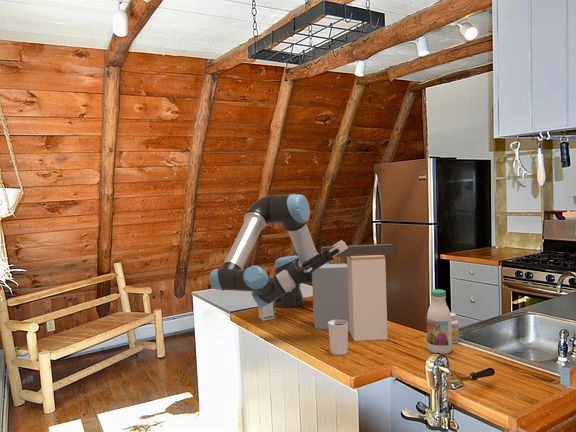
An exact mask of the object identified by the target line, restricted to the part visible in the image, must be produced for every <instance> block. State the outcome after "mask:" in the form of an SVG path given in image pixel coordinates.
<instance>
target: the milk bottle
mask: <svg viewBox="0 0 576 432" xmlns="http://www.w3.org/2000/svg"><path fill="white" fill-rule="evenodd" d="M430 294H431V302H430V305H429V307H428V309H427V314H426V334H427V335H426V340H427V341H426V342H427V350H428V352H430V353H433V354H437V353H440V355H445V354H447V355H448V354H450V353H452V350H453V343H452V323H451V314H450V313H451V311H450V309H449V307H448V304H447V301H446V297H447V291H446V290H444V289H439V288H437V289H432V290H431V291H430Z"/></svg>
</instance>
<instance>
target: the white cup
mask: <svg viewBox="0 0 576 432" xmlns="http://www.w3.org/2000/svg"><path fill="white" fill-rule="evenodd" d="M328 327H329V329H328V336H329V337H328V338H329V352H330V353H331V355H333V356H334V355H336V356H342V355H346V354H348V352H349V346H348V345H349V328H348V322H347V321H345V320H331V321H329V322H328Z"/></svg>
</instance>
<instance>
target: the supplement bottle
mask: <svg viewBox="0 0 576 432" xmlns="http://www.w3.org/2000/svg"><path fill="white" fill-rule="evenodd" d="M450 314H451V323H452V344H457V343H458V342H459V320H457V314H456V313H454V312H450Z"/></svg>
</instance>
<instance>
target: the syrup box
mask: <svg viewBox="0 0 576 432" xmlns="http://www.w3.org/2000/svg"><path fill="white" fill-rule="evenodd" d="M257 307H258V309H257V310H258V319H260V320H261V321H263V322H264V321H271V320H275V319H276V306H275V301H273V302H272V303H270V304H268V305H266V306H264V307H260V306H259V305H258V304H257Z"/></svg>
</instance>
